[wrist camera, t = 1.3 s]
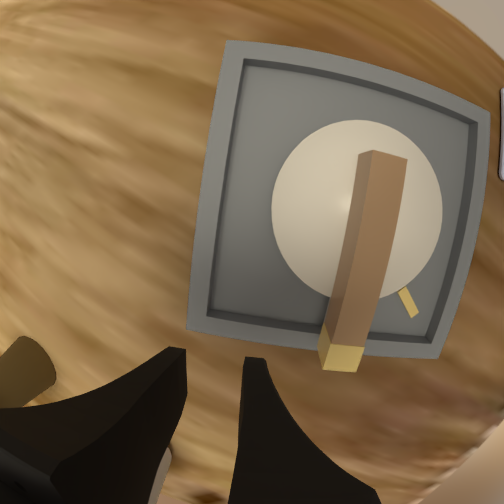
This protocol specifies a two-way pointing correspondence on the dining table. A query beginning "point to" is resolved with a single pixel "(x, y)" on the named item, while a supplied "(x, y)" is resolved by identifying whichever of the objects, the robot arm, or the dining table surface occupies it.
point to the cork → (24, 373)
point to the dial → (355, 225)
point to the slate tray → (266, 172)
